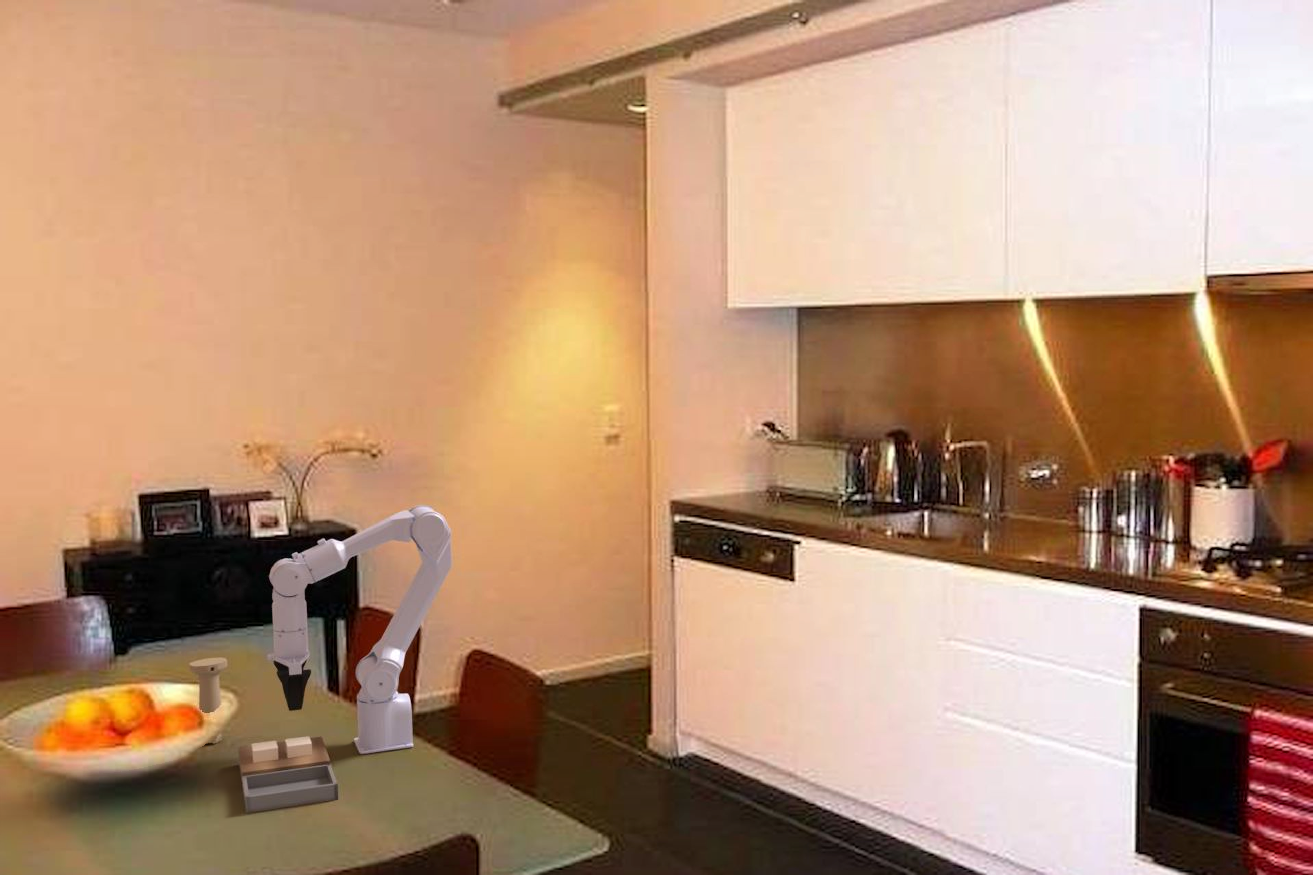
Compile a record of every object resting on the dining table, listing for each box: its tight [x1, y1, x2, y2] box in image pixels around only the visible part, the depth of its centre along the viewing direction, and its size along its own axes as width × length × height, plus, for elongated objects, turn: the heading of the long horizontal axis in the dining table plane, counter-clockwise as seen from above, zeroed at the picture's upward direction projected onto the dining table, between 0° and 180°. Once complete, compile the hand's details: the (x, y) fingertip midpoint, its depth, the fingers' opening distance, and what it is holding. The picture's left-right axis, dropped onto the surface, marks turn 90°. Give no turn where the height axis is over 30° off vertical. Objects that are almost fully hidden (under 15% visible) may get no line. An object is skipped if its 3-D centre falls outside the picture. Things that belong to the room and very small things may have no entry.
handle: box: [188, 657, 228, 744], centre depth 223 cm, size 5×6×15 cm
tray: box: [241, 763, 339, 814], centre depth 198 cm, size 14×10×2 cm
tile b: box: [251, 740, 278, 763], centre depth 207 cm, size 4×4×2 cm
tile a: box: [284, 735, 312, 758], centre depth 209 cm, size 4×4×2 cm
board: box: [237, 736, 331, 789], centre depth 209 cm, size 14×13×3 cm
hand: (293, 704), depth 215 cm, fingers open, 6 cm apart
